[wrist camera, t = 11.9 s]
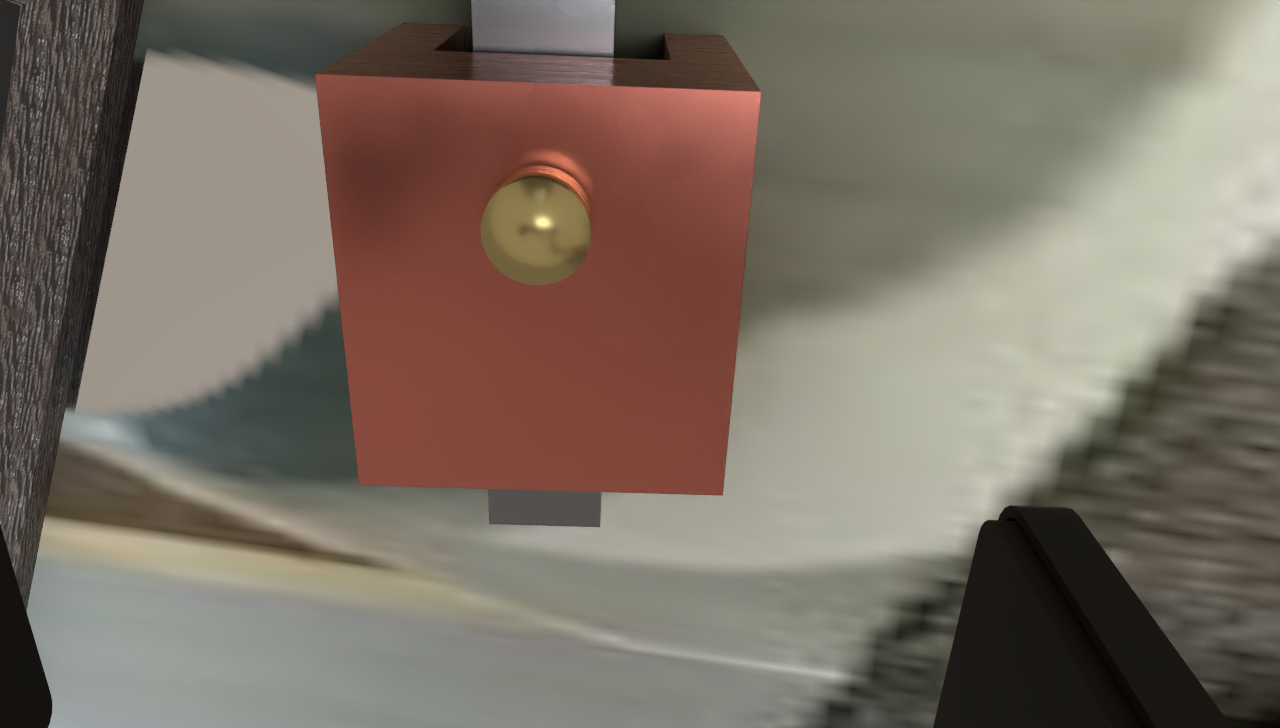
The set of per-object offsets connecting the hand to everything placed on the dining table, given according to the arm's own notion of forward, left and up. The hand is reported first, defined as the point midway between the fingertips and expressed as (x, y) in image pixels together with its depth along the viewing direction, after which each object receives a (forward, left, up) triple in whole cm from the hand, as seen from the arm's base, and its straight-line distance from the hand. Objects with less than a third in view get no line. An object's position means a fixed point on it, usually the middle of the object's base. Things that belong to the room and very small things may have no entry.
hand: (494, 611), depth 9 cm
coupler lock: (0, 0, -13) cm, 13 cm away
